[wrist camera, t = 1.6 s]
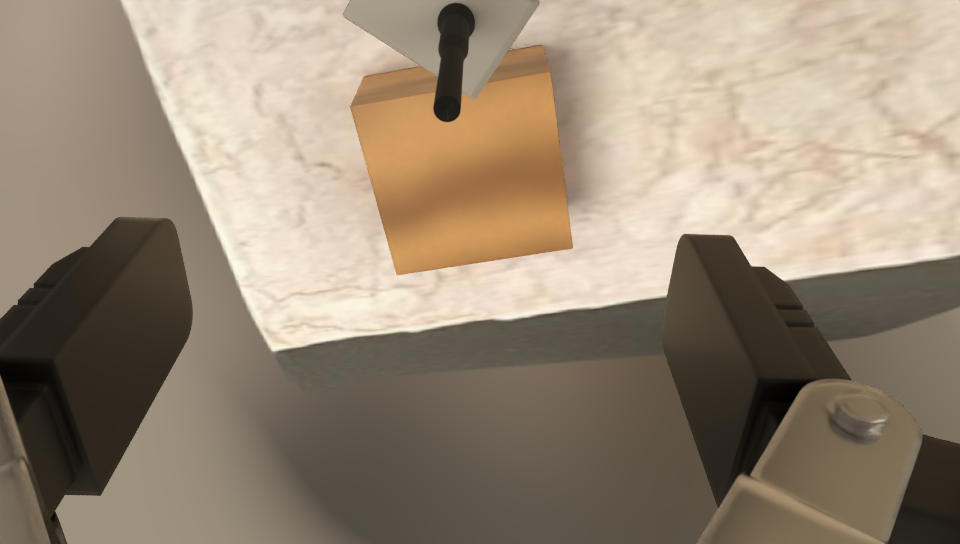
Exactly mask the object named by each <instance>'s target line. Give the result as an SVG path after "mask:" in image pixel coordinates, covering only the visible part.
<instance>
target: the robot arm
mask: <svg viewBox="0 0 960 544" xmlns="http://www.w3.org/2000/svg"><path fill="white" fill-rule="evenodd" d="M192 313H193V311H192V300H191V295H190V291H189V286H188V281H187V276H186V272H185V267H184V262H183V257H182V253H181V248H180V243H179V238H178V234H177V230H176V228H175V226H174V224H173V222H172V221H171V220H170V219H166V218H134V217H132V218H131V217H118V218H116V219H115V220H114V221H113V222H112V223H111V224H110V225H109V226H108V227H107V229H106V230H105V231H104V232H103V233H102V234H101V235H100V236H99V237H98V239H97V240H96V241H95V242H94V243H93V244H92V245H91V246H90V247H82V248H80V249H79V250H77V251H75V252H73V253H71V254H70V255H68V256H66V257H65V258H62V259H61V260H59V261H57V262H55V263H54V264H52V265H51V266H50V268H48V270H47V271H46V272H45V273H44V274H43V275H42V276H41V277H40V278H39V279H38V280H37V281H36V282H35V283H34V288H30V289H29V290H28V291H27V292H26V293H25V294H24V295H23V296H22V297H21V298H20V299H19V300H18V305H14V306H13V307H11V309H10V310H9V311H8V312H7V313H6V314H5V315H4V316H3V317H2V318H1V319H0V544H67V542H66V540H65V537H64V533H63V530H62V528H61V525H60V522H59V520H58V517H57V515H56V512H55V510H56V508H57V507H58V505H59V504H60V502H61V500H62V499H63V497H64V495H97V496H100V495H101V494H102V492H103V490H104V488H105V487H106V485H107V483H108V481H109V479H110V478H111V476H112V474H113V472H114V471H115V469H116V467H117V465H118V464H119V462H120V460H121V458H122V456H123V455H124V453H125V451H126V449H127V447H128V446H129V444H130V442H131V440H132V438H133V437H134V435H135V433H136V431H137V429H138V428H139V426H140V424H141V422H142V420H143V419H144V417H145V415H146V413H147V411H148V409H149V408H150V406H151V404H152V402H153V401H154V399H155V397H156V395H157V393H158V392H159V390H160V388H161V386H162V384H163V383H164V381H165V379H166V377H167V376H168V374H169V372H170V370H171V368H172V366H173V365H174V363H175V361H176V359H177V357H178V356H179V354H180V352H181V350H182V349H183V347H184V345H185V343H186V341H187V339H188V337H189V334H190V330H191V325H192V315H193V314H192ZM662 340H663V348H664V352H665V356H666V358H667V361H668V364H669V367H670V370H671V373H672V376H673V379H674V382H675V385H676V388H677V390H678V393H679V396H680V399H681V402H682V405H683V408H684V411H685V414H686V417H687V420H688V422H689V425H690V428H691V431H692V434H693V437H694V440H695V443H696V445H697V449H698V451H699V454H700V457H701V460H702V463H703V466H704V469H705V472H706V474H707V478H708V480H709V483H710V486H711V489H712V492H713V495H714V498H715V501H716V504H717V507H718V510H717V511H716V513H715V515H714V516H713V518H712V520H711V521H710V523H709V524H708V526H707V528H706V529H705V531H704V533H703V534H702V536H701V538H700V539H699V541H698V542H697V544H960V444H958V443H953V442H950V441H946V440H941V439H937V438H934V437H930V436H927V435H923V434H922V429H921V427H920V425H919V423H918V421H917V420H916V418H915V417H914V415H913V414H912V413H911V412H910V411H909V410H908V409H907V408H906V407H905V406H904V405H902V404H901V403H900V402H899V401H897V400H896V399H894V398H893V397H891V396H890V395H888V394H886V393H884V392H882V391H880V390H878V389H876V388H873V387H871V386H868V385H865V384H862V383H858V382H855V381H852V380H851V378H850V377H849V375H848V374H847V372H846V371H845V369H844V368H843V366H842V365H841V363H840V362H839V360H838V359H837V357H836V356H835V354H834V353H833V351H832V349H831V348H830V346H829V345H828V343H827V342H826V340H825V339H824V337H823V336H822V334H821V333H820V331H819V330H818V328H815V327H814V322H813V321H812V319H811V318H810V316H809V315H808V313H807V311H806V310H803V305H802V304H801V302H800V301H799V299H798V298H797V296H796V295H795V293H794V292H793V290H792V289H791V287H790V286H789V285H788V284H787V283H786V282H784V281H783V280H781V279H780V278H779V277H777V276H776V275H775V274H773V273H772V272H771V271H769V270H768V269H766V268H765V267H752V266H751V265H750V264H749V262H748V260H747V259H746V257H745V255H744V254H743V252H742V250H741V249H740V247H739V245H738V244H737V242H736V240H735V239H734V238H733V237H732V236H730V235H699V234H684V235H682V236H681V238H680V240H679V242H678V245H677V249H676V254H675V259H674V264H673V269H672V274H671V279H670V284H669V289H668V294H667V299H666V304H665V309H664V314H663V322H662Z"/></svg>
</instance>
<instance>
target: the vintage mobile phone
mask: <svg viewBox="0 0 960 544" xmlns="http://www.w3.org/2000/svg"><path fill="white" fill-rule="evenodd" d="M538 5H539V0H350V2H349V4H348V6H347V8H346V10H345V11H344V13H343V16H344V17H345V18H346V19H348V20H349V21H351V22H352V23H354V24H355V25H357V26H359V27H360V28H362V29H363V30H365V31H367V32H368V33H370V34H371V35H373V36H374V37H376V38H378V39H379V40H381V41H382V42H384V43H385V44H387V45H389V46H390V47H392V48H393V49H395V50H396V51H398V52H400V53H401V54H403V55H404V56H406V57H408V58H409V59H411V60H412V61H414V62H415V63H417V64H419V65H420V66H422V67H423V68H425V69H426V70H428V71H430V72H431V73H433V74H434V75H436V76H437V77H438V80H437V87H436V93H435V99H434V106H433V111H434V114H435V116H436V117H437V118H438V119H439V120H441V121H443V122H452V121H454V120H456V119H457V118H458V117H459V115H460V112H461V97H462V92H463V93H464V94H466V95H467V96H469V97H471V98H472V99H476V98H477V97H478V95H479V94H480V92H481V91H482V89H483V88H484V86H485V85H486V83H487V82H488V80H489V79H490V77H491V76H492V74H493V73H494V71H495V70H496V68H497V67H498V65H499V64H500V62H501V61H502V59H503V58H504V56H505V55H506V53H507V52H508V50H509V49H510V47H511V46H512V44H513V43H514V41H515V40H516V38H517V37H518V35H519V34H520V32H521V31H522V29H523V28H524V26H525V25H526V23H527V22H528V20H529V19H530V17H531V16H532V14H533V13H534V11H535V10H536V8H537V7H538Z"/></svg>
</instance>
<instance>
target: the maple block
mask: <svg viewBox="0 0 960 544" xmlns="http://www.w3.org/2000/svg"><path fill="white" fill-rule="evenodd" d="M437 80H438V77H437V76H436V75H434V74H433V73H431V72H430V71H428V70H426V69H425V68H423V67H416V68H411V69H405V70H399V71H394V72H388V73H383V74H377V75H371V76H366V77H363V80H362V82H361V84H360V86H359V88H358V91H357V93H356V95H355V97H354V99H353V102H352V104H351V106H350V108H351V111H352V115H353V118H354V122H355V126H356V129H357V133H358V136H359V140H360V144H361V147H362V151H363V155H364V158H365V162H366V165H367V169H368V173H369V176H370V180H371V183H372V187H373V191H374V194H375V198H376V202H377V205H378V209H379V212H380V216H381V220H382V223H383V227H384V231H385V234H386V238H387V241H388V245H389V249H390V252H391V256H392V259H393V263H394V267H395V270H396V274H397V275H401V274H408V273H414V272H421V271H428V270H434V269H441V268H447V267H454V266H460V265H467V264H473V263H480V262H486V261H493V260H499V259H506V258H513V257H519V256H526V255H532V254H539V253H545V252H552V251H558V250H565V249H571V248H573V244H572V236H571V229H570V221H569V213H568V205H567V197H566V189H565V181H564V173H563V166H562V158H561V150H560V142H559V134H558V126H557V118H556V110H555V103H554V95H553V87H552V79H551V72H550V68H549V65H548V61H547V58H546V54H545V51H544V48H543V45H540V46H534V47H528V48H523V49H517V50H512V51H508V52H507V53H506V55H505V56H504V58H503V59H502V61H501V62H500V64H499V65H498V67H497V68H496V70H495V71H494V73H493V74H492V76H491V77H490V79H489V80H488V82H487V83H486V85H485V86H484V88H483V89H482V91H481V92H480V94H479V95H478V97H477V98H476V99H472V98H471V97H469V96H467V95H466V94H464V93H463V92H462V97H461V112H460V115H459V117H458V118H457V119H456V120H454V121H452V122H443V121H441V120H439V119H438V118H437V117H436V116H435V114H434V111H433V106H434V99H435V93H436V87H437Z"/></svg>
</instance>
